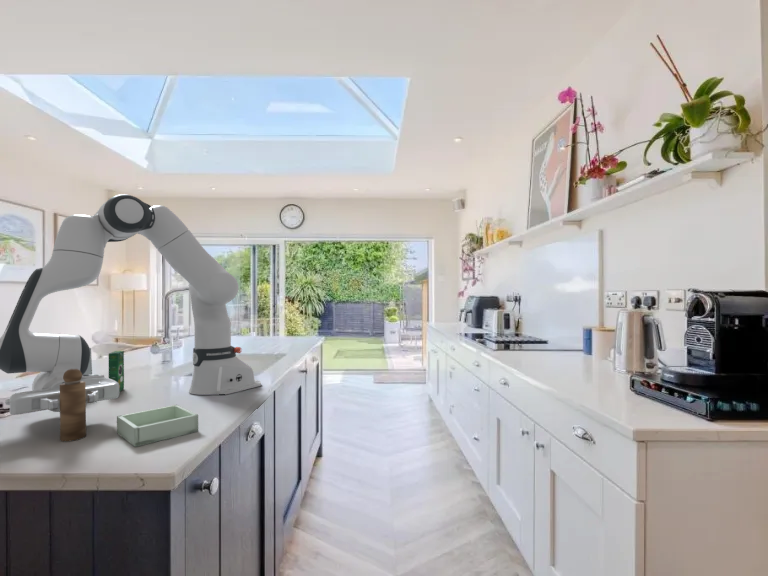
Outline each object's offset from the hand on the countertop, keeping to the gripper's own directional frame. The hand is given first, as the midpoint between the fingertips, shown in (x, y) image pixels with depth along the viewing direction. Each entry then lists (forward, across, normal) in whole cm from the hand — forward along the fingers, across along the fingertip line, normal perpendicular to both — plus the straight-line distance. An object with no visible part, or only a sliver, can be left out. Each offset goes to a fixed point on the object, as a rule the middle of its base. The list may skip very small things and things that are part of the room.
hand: (74, 402), depth 91 cm
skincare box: (-49, +10, +8) cm, 51 cm away
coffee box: (-44, +19, +8) cm, 49 cm away
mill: (-1, 0, +8) cm, 8 cm away
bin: (+9, +14, +8) cm, 19 cm away
